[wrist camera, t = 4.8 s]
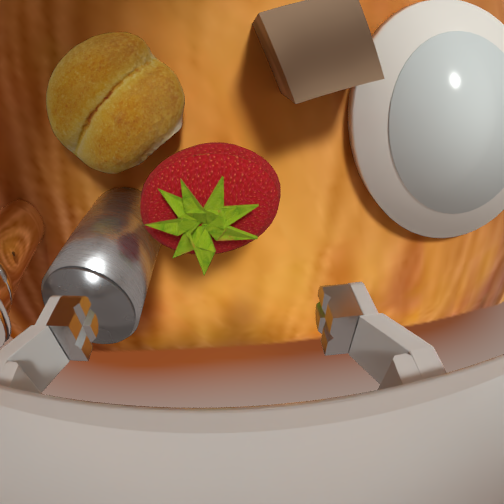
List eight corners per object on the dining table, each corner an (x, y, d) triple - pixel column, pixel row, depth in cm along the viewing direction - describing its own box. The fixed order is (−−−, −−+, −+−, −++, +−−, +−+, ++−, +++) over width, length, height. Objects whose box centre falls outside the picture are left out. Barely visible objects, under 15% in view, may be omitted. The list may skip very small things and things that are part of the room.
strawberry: (275, 193, 22) (302, 287, 14) (172, 213, 23) (144, 313, 15) (261, 112, 19) (287, 161, 11) (148, 138, 19) (92, 205, 11)
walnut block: (252, 24, 16) (258, 13, 12) (326, 3, 15) (354, -10, 11) (280, 92, 18) (295, 104, 14) (351, 71, 18) (384, 78, 14)
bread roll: (115, 11, 14) (93, 5, 11) (206, 104, 18) (204, 116, 15) (35, 104, 16) (5, 118, 13) (119, 184, 21) (103, 212, 18)
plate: (348, -30, 13) (356, -34, 12) (539, 44, 14) (549, 46, 13) (335, 234, 25) (340, 244, 24) (504, 228, 25) (512, 236, 24)
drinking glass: (83, 191, 21) (23, 268, 14) (158, 183, 21) (120, 263, 14) (102, 257, 25) (64, 343, 17) (170, 253, 25) (150, 346, 17)
